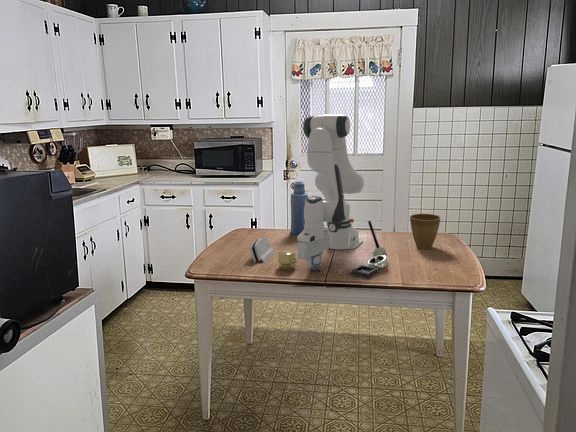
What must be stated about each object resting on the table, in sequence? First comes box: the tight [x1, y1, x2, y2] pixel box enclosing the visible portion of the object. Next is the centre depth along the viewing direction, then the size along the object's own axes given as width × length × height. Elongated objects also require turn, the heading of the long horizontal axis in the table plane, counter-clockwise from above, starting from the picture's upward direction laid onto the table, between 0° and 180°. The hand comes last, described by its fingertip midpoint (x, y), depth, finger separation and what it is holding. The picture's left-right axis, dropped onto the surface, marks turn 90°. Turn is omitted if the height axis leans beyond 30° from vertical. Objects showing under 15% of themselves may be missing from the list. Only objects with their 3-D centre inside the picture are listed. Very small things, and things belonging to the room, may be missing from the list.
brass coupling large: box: [277, 250, 297, 272], centre depth 220 cm, size 8×8×7 cm
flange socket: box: [349, 264, 380, 280], centre depth 212 cm, size 9×9×2 cm
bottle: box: [290, 180, 309, 236], centre depth 275 cm, size 10×10×30 cm
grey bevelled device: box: [249, 237, 275, 264], centre depth 237 cm, size 17×5×10 cm, turn 163°
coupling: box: [308, 254, 322, 271], centre depth 216 cm, size 6×6×6 cm
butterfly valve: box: [367, 220, 389, 271], centre depth 220 cm, size 9×20×17 cm
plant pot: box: [409, 213, 441, 250], centre depth 246 cm, size 15×15×16 cm
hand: (314, 263), depth 216 cm, fingers closed on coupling, 6 cm apart
